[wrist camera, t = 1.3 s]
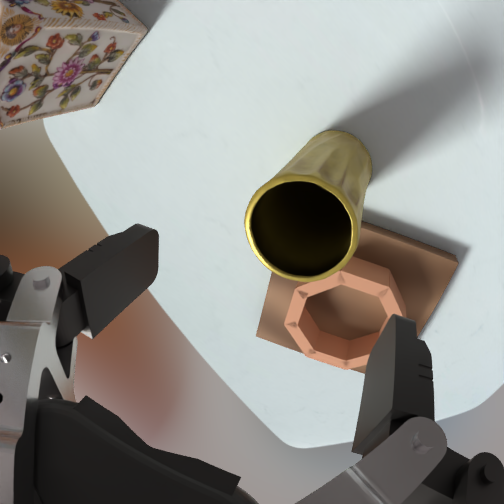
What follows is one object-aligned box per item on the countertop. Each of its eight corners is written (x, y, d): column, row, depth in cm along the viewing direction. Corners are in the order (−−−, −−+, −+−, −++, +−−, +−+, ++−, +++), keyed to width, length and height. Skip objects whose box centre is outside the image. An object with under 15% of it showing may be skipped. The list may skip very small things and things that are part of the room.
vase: (385, 157, 24) (397, 219, 12) (346, 214, 28) (318, 312, 16) (323, 116, 24) (273, 135, 13) (288, 175, 28) (215, 244, 16)
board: (292, 198, 29) (288, 203, 27) (455, 255, 25) (458, 263, 24) (260, 327, 37) (255, 336, 36) (388, 371, 33) (387, 380, 32)
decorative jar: (96, 109, 32) (-44, 149, 17) (55, 55, 30) (-68, 77, 15) (154, 28, 25) (-10, 20, 10) (103, -21, 23) (-34, -31, 9)
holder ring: (311, 242, 28) (304, 258, 26) (419, 279, 26) (422, 298, 24) (285, 327, 34) (276, 346, 31) (375, 357, 31) (373, 378, 29)
